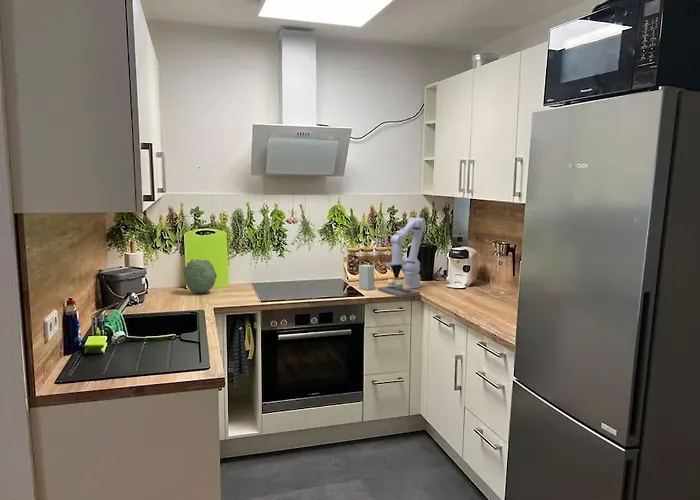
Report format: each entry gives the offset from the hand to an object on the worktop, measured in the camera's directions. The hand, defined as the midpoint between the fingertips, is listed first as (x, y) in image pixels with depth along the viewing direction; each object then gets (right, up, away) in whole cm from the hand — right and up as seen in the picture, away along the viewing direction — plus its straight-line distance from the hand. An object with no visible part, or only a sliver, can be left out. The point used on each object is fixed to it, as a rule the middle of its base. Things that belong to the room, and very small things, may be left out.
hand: (396, 277), depth 303 cm
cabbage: (-114, -9, -9) cm, 115 cm away
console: (+1, -9, -1) cm, 9 cm away
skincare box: (-18, -8, +9) cm, 21 cm away
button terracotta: (+5, -7, -7) cm, 12 cm away
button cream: (-3, -5, +4) cm, 7 cm away
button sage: (+1, -5, -2) cm, 6 cm away
